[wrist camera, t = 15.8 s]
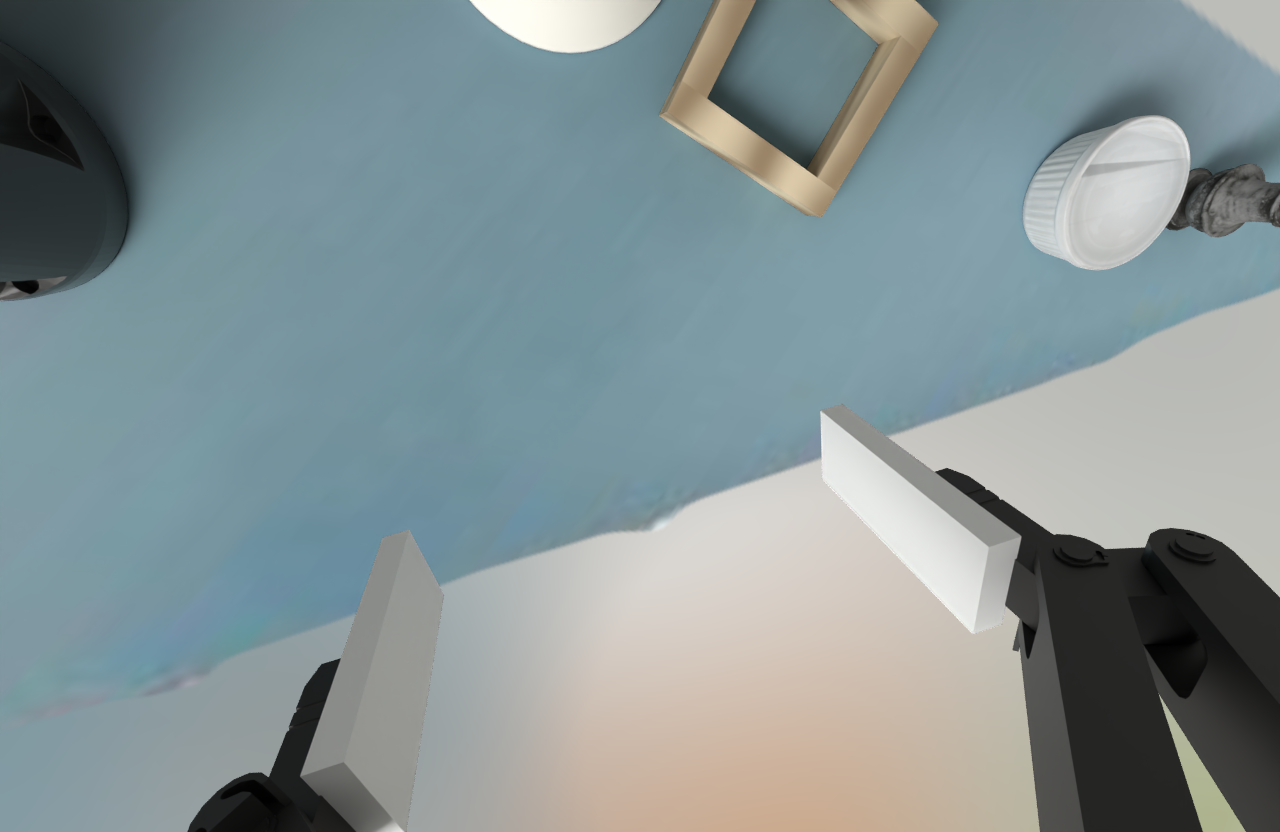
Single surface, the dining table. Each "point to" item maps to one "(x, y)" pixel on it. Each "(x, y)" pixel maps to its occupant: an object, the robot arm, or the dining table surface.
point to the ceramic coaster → (567, 21)
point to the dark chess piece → (1227, 201)
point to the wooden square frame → (902, 34)
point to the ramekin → (1108, 192)
